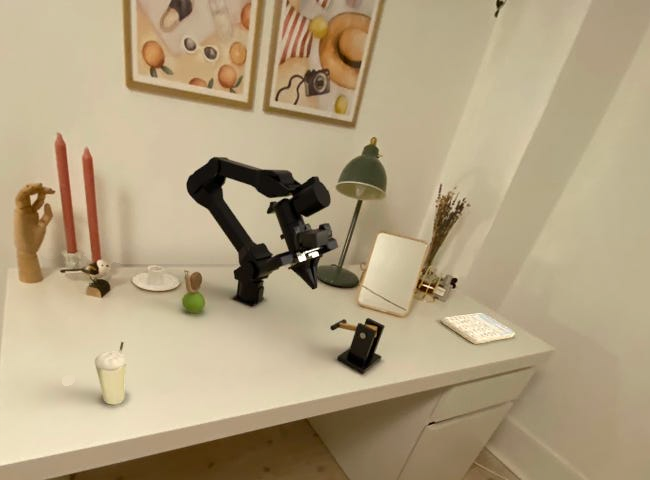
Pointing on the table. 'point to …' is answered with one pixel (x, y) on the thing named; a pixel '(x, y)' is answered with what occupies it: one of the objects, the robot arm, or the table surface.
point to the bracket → (363, 347)
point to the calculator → (478, 328)
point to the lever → (349, 326)
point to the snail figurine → (193, 293)
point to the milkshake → (112, 375)
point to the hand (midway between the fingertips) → (315, 288)
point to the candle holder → (156, 279)
